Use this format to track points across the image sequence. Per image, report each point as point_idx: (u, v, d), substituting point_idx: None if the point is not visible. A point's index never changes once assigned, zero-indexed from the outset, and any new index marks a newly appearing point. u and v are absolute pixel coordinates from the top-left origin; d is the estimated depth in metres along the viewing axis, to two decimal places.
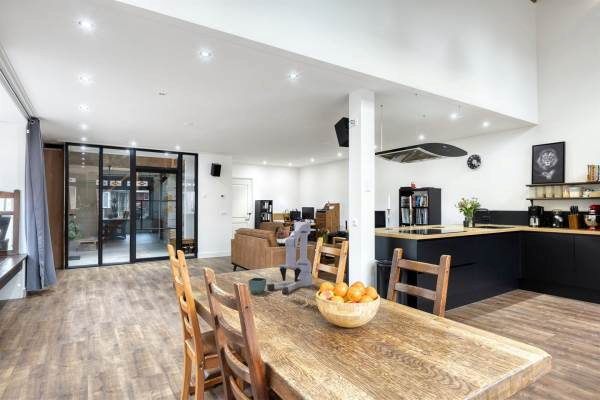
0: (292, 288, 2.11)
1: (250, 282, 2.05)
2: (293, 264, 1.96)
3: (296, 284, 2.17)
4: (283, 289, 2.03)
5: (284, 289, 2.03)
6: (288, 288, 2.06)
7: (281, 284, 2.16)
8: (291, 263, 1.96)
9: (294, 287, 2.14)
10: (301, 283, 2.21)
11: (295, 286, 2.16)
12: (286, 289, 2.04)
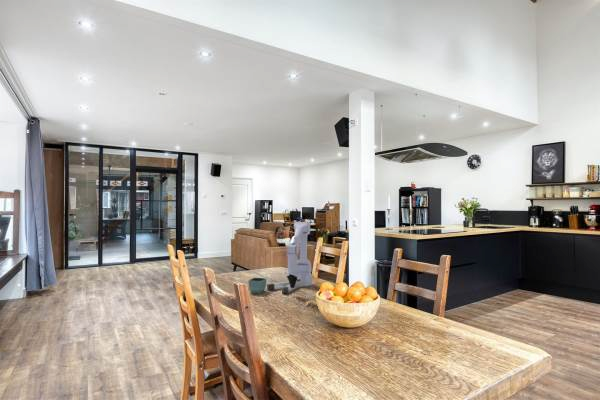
0: (292, 288, 2.11)
1: (250, 282, 2.05)
2: (293, 272, 1.98)
3: (296, 284, 2.17)
4: (283, 289, 2.03)
5: (284, 289, 2.03)
6: (288, 288, 2.06)
7: (281, 284, 2.16)
8: (290, 271, 1.98)
9: None
10: (301, 283, 2.21)
11: (295, 286, 2.16)
12: (286, 289, 2.04)
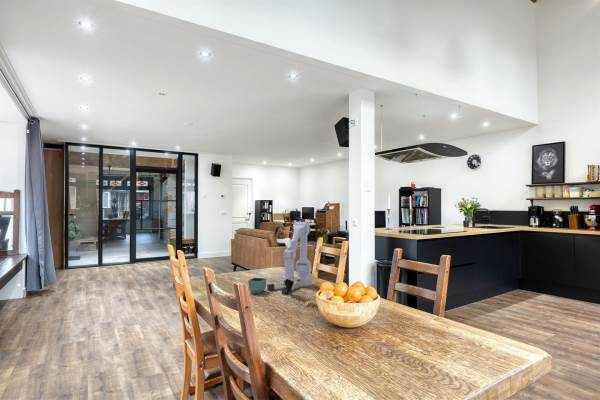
0: (292, 288, 2.11)
1: (250, 282, 2.05)
2: (289, 276, 2.01)
3: (296, 284, 2.17)
4: (282, 289, 2.03)
5: (284, 289, 2.03)
6: None
7: (281, 284, 2.16)
8: (287, 275, 2.01)
9: (294, 287, 2.14)
10: (301, 283, 2.21)
11: (295, 286, 2.16)
12: (286, 289, 2.04)
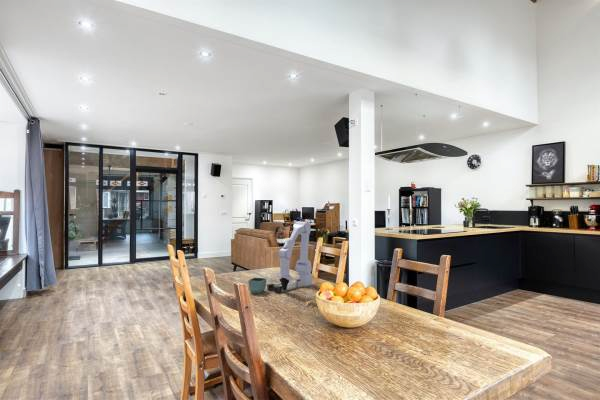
0: (288, 288, 2.12)
1: (250, 282, 2.05)
2: (285, 275, 2.05)
3: (294, 284, 2.17)
4: (275, 288, 2.06)
5: (276, 288, 2.05)
6: (281, 287, 2.08)
7: (281, 284, 2.16)
8: (282, 274, 2.05)
9: (291, 287, 2.15)
10: (301, 283, 2.21)
11: (292, 286, 2.16)
12: (278, 288, 2.06)
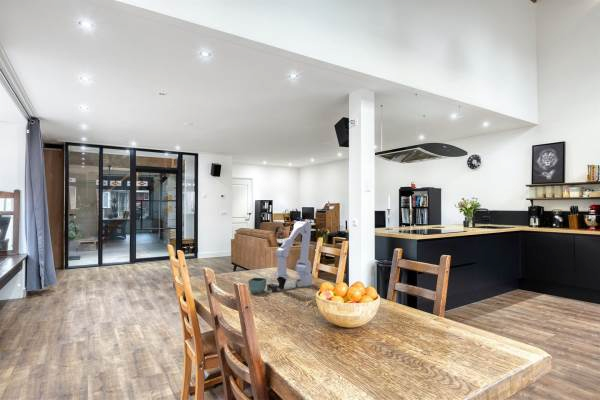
0: (285, 287, 2.14)
1: (250, 282, 2.05)
2: (282, 274, 2.08)
3: (293, 284, 2.17)
4: (270, 287, 2.09)
5: (271, 287, 2.08)
6: (277, 286, 2.10)
7: None
8: (280, 273, 2.08)
9: (289, 287, 2.15)
10: (301, 283, 2.21)
11: (291, 286, 2.16)
12: (273, 287, 2.08)
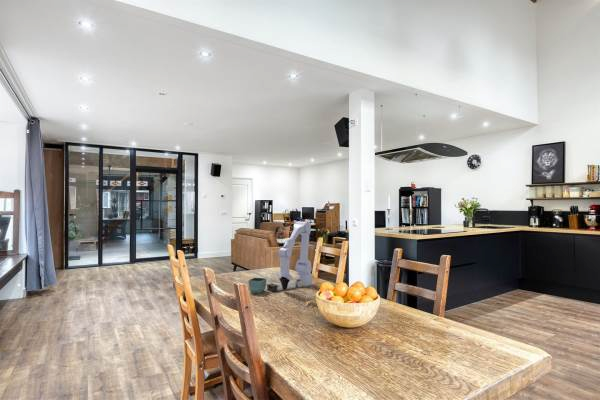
0: None
1: (250, 282, 2.05)
2: (285, 274, 2.05)
3: (293, 284, 2.17)
4: (270, 287, 2.09)
5: (271, 287, 2.08)
6: (277, 286, 2.10)
7: None
8: (282, 273, 2.06)
9: (289, 287, 2.15)
10: (301, 283, 2.21)
11: (291, 286, 2.16)
12: (273, 287, 2.08)
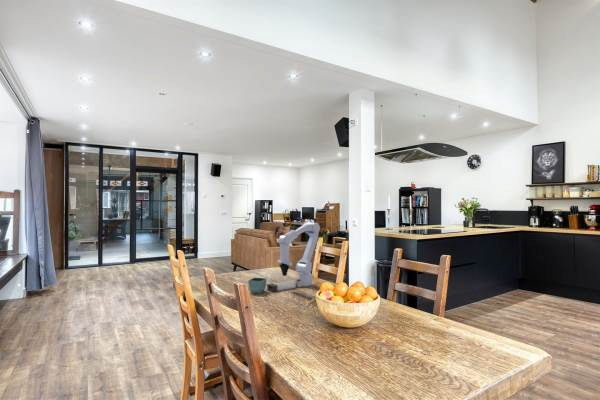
0: (285, 287, 2.14)
1: (250, 282, 2.05)
2: (284, 260, 2.13)
3: (293, 284, 2.17)
4: (270, 287, 2.09)
5: (271, 287, 2.08)
6: (277, 286, 2.10)
7: None
8: (282, 260, 2.13)
9: (289, 287, 2.15)
10: (301, 283, 2.21)
11: (291, 286, 2.16)
12: (273, 287, 2.08)
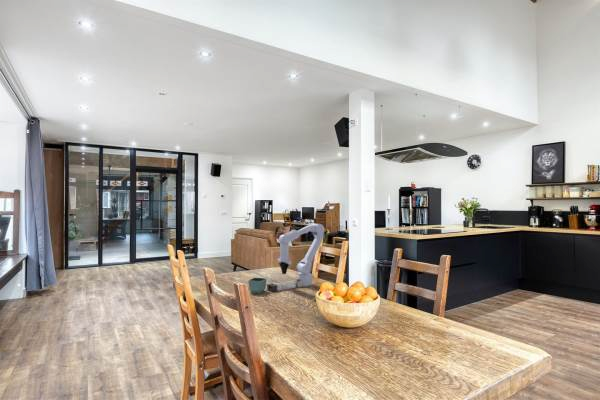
0: (285, 287, 2.14)
1: (250, 282, 2.05)
2: (284, 259, 2.18)
3: (293, 284, 2.17)
4: (270, 287, 2.09)
5: (271, 287, 2.08)
6: (277, 286, 2.10)
7: None
8: (282, 258, 2.18)
9: (289, 287, 2.15)
10: (301, 283, 2.21)
11: (291, 286, 2.16)
12: (273, 287, 2.08)
